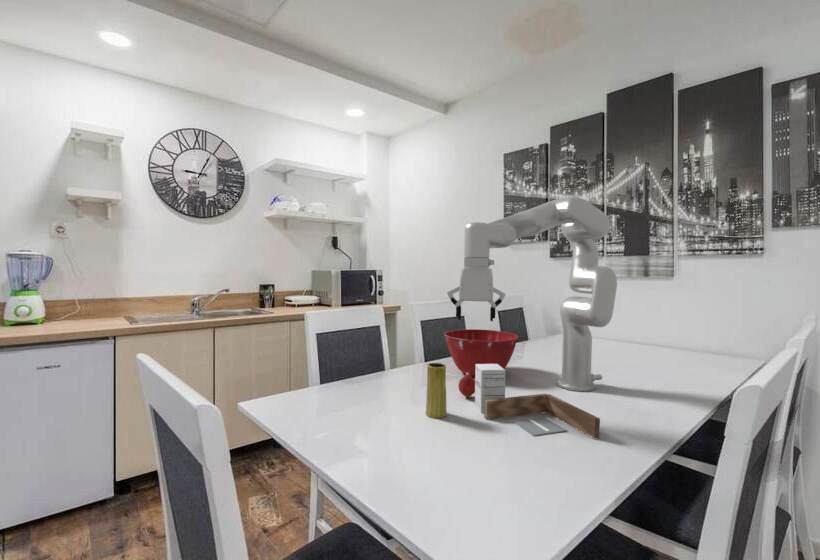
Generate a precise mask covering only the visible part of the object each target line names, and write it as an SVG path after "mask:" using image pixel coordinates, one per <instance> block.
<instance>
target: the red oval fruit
mask: <svg viewBox="0 0 820 560" xmlns="http://www.w3.org/2000/svg"><path fill="white" fill-rule="evenodd" d="M458 390H459V392H460V394H461V395H462V396H464V397H465V398H466V399H467V398H470V397H471V396H473V395H475V378H474V377H473V376H470V374H469V373H466V374H464V376H463V377H461V378H460V380H459V382H458Z"/></svg>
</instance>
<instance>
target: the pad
mask: <svg viewBox="0 0 820 560" xmlns="http://www.w3.org/2000/svg"><path fill="white" fill-rule="evenodd" d="M511 422H512V423H514V424H515V425H517V426H519V427H520V428H521V429H523V430H524V431H526V432H527V433H528V434H530V435H532V436H533V437H538V436H544V434H545V435H550V433H552V434H557V433H556V432H559V433H564V432H563V431H566V432H568V430H567V429H566V428H564V427H562V426H561V425H559V424H558V423H555V422H554V421H552V420H551V419H549V418H547V417H545V416H544V415H543V416H538V417H528V418H521V419H514V420H512V419H511Z"/></svg>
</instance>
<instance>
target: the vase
mask: <svg viewBox="0 0 820 560" xmlns="http://www.w3.org/2000/svg"><path fill="white" fill-rule="evenodd" d="M426 366H427V372H426V373H427V375H426V401H425V405H426V406H425V416H427V417H428V418H431V419H441V418H445V417H447V414H448V412H447V386H446V385H447V384H446V381H447V380H446V379H447V377H446V375H447V374H446V372H447V371H446V369H447V365H446V364H445V363H441V362H430V363H428V364H427V365H426Z"/></svg>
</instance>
